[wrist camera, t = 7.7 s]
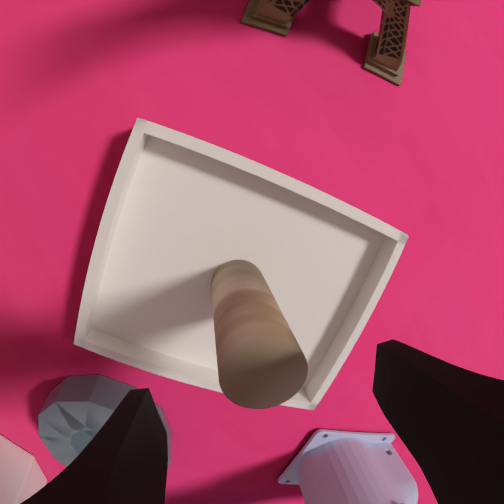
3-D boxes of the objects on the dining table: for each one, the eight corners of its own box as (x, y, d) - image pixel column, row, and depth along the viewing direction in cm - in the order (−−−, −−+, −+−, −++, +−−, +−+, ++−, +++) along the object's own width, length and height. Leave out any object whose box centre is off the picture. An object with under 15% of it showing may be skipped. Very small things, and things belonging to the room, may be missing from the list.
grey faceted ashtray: (184, 401, 21) (184, 430, 18) (155, 472, 23) (153, 497, 20) (53, 355, 19) (37, 379, 16) (50, 437, 21) (40, 460, 18)
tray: (389, 227, 20) (408, 235, 17) (304, 390, 22) (313, 410, 20) (145, 123, 16) (137, 117, 14) (84, 326, 18) (73, 344, 16)
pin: (273, 272, 18) (324, 354, 10) (249, 316, 19) (280, 416, 11) (225, 250, 18) (243, 325, 10) (202, 297, 18) (204, 395, 10)
